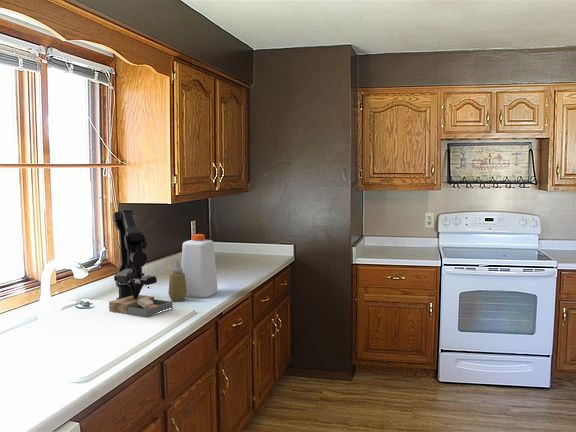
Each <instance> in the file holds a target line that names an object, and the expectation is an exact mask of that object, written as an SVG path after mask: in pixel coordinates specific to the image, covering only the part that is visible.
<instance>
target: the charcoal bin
mask: <svg viewBox="0 0 576 432" xmlns="http://www.w3.org/2000/svg"><path fill="white" fill-rule="evenodd" d="M151 301H152V302H154V303H153V305H159V306H155V307H152V308H149V309H144V308H143V307H141V306H140V305H139V304H136V305H133V306H130V307H128V314H127V315H129V316H135V317H141V318H142V317H143V318H149V317H151V316H154V314H155V315H157V314H156V313H158V312H160V311H163V310H166V309H169V308H174V307H173V305H174V304H173V302H174V301H170V300H165V299H164V300H162V299H158V298H157V299H156V298H154V299H153V300H151ZM158 314H159V313H158Z"/></svg>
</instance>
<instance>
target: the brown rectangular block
mask: <svg viewBox="0 0 576 432" xmlns="http://www.w3.org/2000/svg"><path fill="white" fill-rule="evenodd" d="M144 297H147V298H148V299H150V300H153V299H155V296H151V295H144V294H139V295H138V298H137V299H134V297H133V295H132V296H129V297H125V298H121V299H118V300H117V299H115V300H110V301H108V302H109V303H108V305H109V306H108V307H109V308H108V309H109V310H108V311H109V312H111V313H112V312H113V313H118V314H123V315H129V314H128V307H130V306H133V305H136V304H137V302H138V299H141V298H144Z"/></svg>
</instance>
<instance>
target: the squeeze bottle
mask: <svg viewBox="0 0 576 432" xmlns="http://www.w3.org/2000/svg"><path fill="white" fill-rule="evenodd" d="M182 272H183V268H181V266H180V262H179V259H175V264H174V267H173V268H171V273H170V275H169V279H168V280H169V282H168V295H169V298H170V300H171V302H176V303H177V302H184V301H185V299H186V298H187V297H186V293H187V288H186V280H185V274H184V273H182Z"/></svg>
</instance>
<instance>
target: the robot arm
mask: <svg viewBox="0 0 576 432" xmlns="http://www.w3.org/2000/svg"><path fill="white" fill-rule="evenodd" d="M112 222H113V223H114V227H115V228H116V230H117V231H118V239H119V241H118V242H119V254H120V264H119V266H118V269H117V273H115V274H114V276H113V277H114V278H113V281H115V286H116V287H117V288H118V297H116V299H115V300H118V299H121V298H125V297H129V296H132V295H133V297H134V299H137V298H138V295H140V293H141V291H142V289H143V287H144V286H149V285H153V284H156V283H158V279H157V277H156V275H149V274H148V275H145V273H144V272H143V267H145V264H146V263H147V260H148V256H147V254H146V253H145V252H144V250H145V249H147V246H148V244H147V240H146V236H145V234H144V233H143V231H142V229H140V228H139V227H137V224H136V221H135V213H134V210H132V209H129V208H128V209H121V210H119V211H115V212H114V213H113V214H112Z"/></svg>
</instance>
